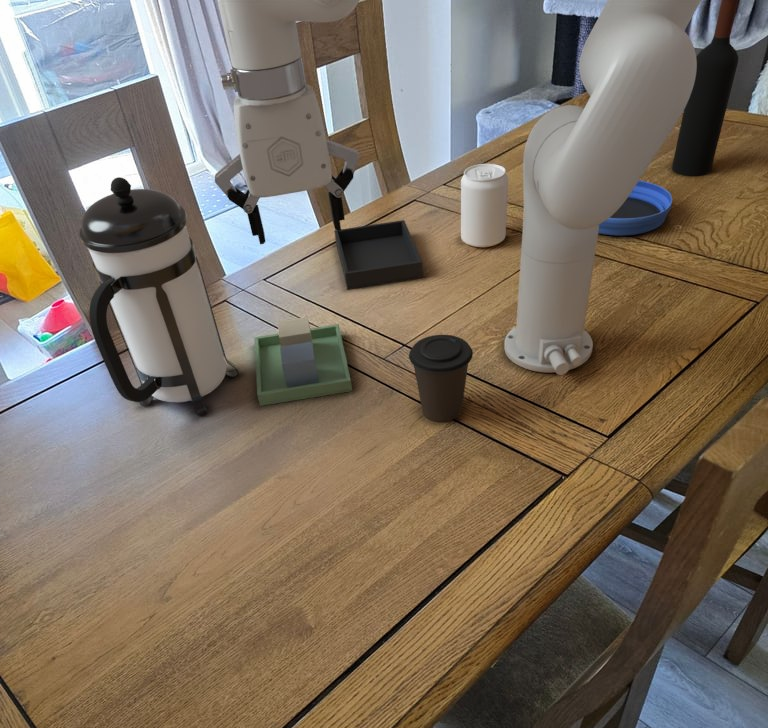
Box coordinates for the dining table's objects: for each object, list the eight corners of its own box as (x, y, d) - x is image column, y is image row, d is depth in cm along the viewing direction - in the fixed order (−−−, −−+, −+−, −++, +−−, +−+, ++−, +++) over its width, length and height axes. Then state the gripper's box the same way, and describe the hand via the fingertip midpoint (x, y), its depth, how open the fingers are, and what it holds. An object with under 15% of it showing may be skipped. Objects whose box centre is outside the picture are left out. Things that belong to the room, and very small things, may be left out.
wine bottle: (671, 175, 140) (709, -7, 119) (672, 161, 145) (709, -17, 124) (711, 176, 138) (758, -9, 117) (710, 162, 143) (755, -18, 122)
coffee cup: (477, 394, 96) (478, 331, 89) (466, 432, 90) (466, 367, 83) (420, 388, 98) (416, 326, 91) (405, 425, 92) (401, 361, 85)
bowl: (680, 235, 123) (685, 215, 120) (577, 242, 124) (579, 222, 121) (655, 193, 135) (658, 174, 133) (561, 200, 136) (563, 181, 134)
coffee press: (126, 377, 106) (40, 172, 84) (229, 350, 109) (171, 145, 87) (140, 445, 94) (44, 227, 72) (254, 412, 97) (195, 193, 75)
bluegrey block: (319, 386, 99) (314, 359, 96) (287, 391, 99) (281, 364, 96) (316, 368, 103) (311, 341, 99) (285, 373, 102) (279, 346, 99)
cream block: (315, 359, 104) (310, 332, 101) (284, 364, 104) (279, 337, 101) (312, 342, 107) (307, 316, 104) (283, 347, 107) (277, 321, 104)
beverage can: (504, 229, 130) (508, 161, 121) (505, 249, 124) (509, 179, 116) (461, 230, 131) (461, 163, 122) (460, 250, 125) (460, 182, 117)
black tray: (422, 277, 120) (422, 261, 117) (347, 289, 119) (345, 273, 117) (405, 235, 131) (404, 219, 129) (336, 245, 131) (334, 230, 129)
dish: (352, 391, 99) (350, 380, 97) (260, 406, 98) (257, 395, 97) (340, 334, 109) (338, 323, 108) (256, 347, 108) (254, 337, 107)
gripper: (191, 103, 73) (233, 258, 85) (353, 76, 74) (371, 233, 86) (192, 83, 78) (231, 232, 90) (343, 58, 79) (362, 209, 91)
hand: (299, 232), depth 88 cm, fingers open, 9 cm apart
